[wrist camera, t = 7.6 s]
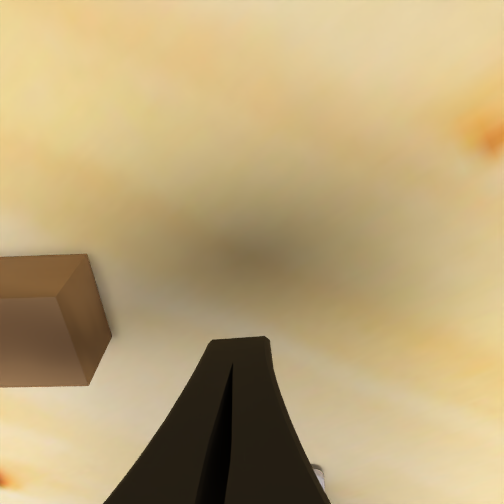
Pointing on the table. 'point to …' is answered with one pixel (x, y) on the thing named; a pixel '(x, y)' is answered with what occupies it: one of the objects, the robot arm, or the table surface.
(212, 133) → the table surface
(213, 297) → the table surface
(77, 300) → the walnut bar
